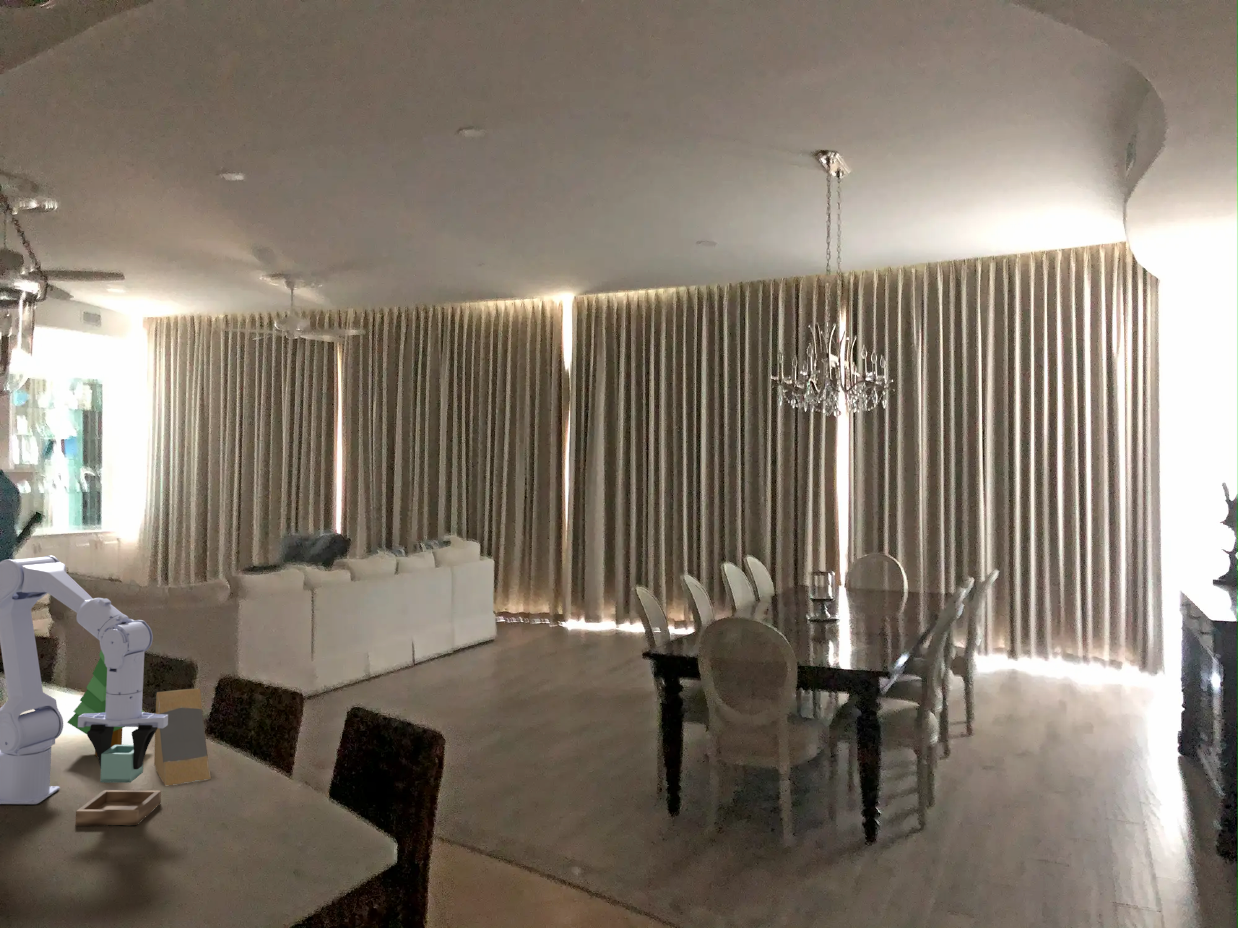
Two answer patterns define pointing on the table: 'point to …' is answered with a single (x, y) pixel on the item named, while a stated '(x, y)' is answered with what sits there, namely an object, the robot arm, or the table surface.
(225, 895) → the table surface
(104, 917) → the table surface
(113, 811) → the walnut crate
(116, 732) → the decorative tree
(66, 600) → the robot arm
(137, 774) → the box
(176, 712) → the sandwich container
